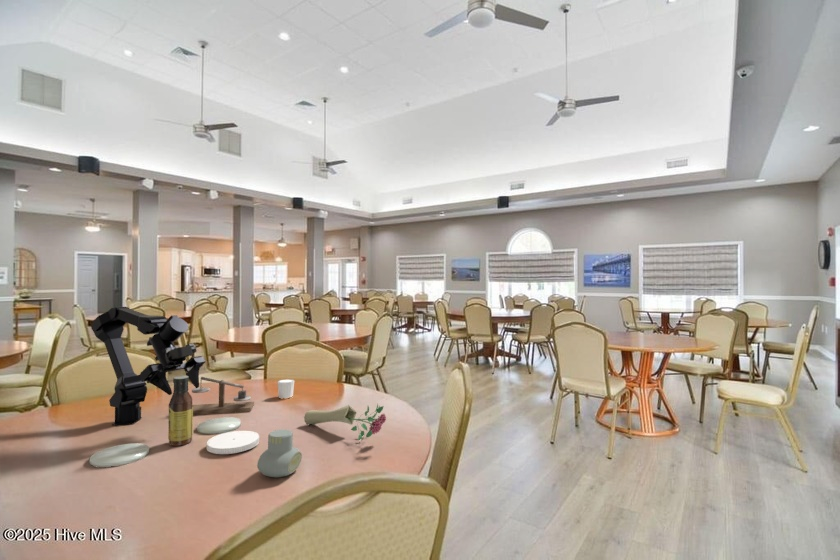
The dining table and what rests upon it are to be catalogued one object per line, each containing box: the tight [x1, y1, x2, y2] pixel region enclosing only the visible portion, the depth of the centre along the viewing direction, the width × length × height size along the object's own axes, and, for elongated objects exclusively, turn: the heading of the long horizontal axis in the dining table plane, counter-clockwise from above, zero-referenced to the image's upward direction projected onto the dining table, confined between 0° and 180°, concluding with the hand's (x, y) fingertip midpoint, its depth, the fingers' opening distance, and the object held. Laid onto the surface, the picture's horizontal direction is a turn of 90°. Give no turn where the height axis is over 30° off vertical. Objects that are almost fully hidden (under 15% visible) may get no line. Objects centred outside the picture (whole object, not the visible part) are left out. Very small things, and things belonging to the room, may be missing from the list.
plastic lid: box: [206, 430, 260, 455], centre depth 119 cm, size 14×14×2 cm
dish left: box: [89, 442, 150, 468], centre depth 111 cm, size 13×13×1 cm
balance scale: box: [191, 376, 255, 416], centre depth 153 cm, size 22×8×13 cm, turn 103°
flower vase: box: [303, 403, 387, 440], centre depth 129 cm, size 12×12×35 cm
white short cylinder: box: [277, 378, 295, 399], centre depth 172 cm, size 7×7×7 cm
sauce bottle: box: [167, 375, 194, 447], centre depth 121 cm, size 7×6×20 cm
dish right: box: [196, 416, 242, 435], centre depth 135 cm, size 13×13×1 cm
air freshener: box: [256, 428, 303, 478], centre depth 103 cm, size 11×8×10 cm
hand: (184, 390), depth 128 cm, fingers open, 9 cm apart
